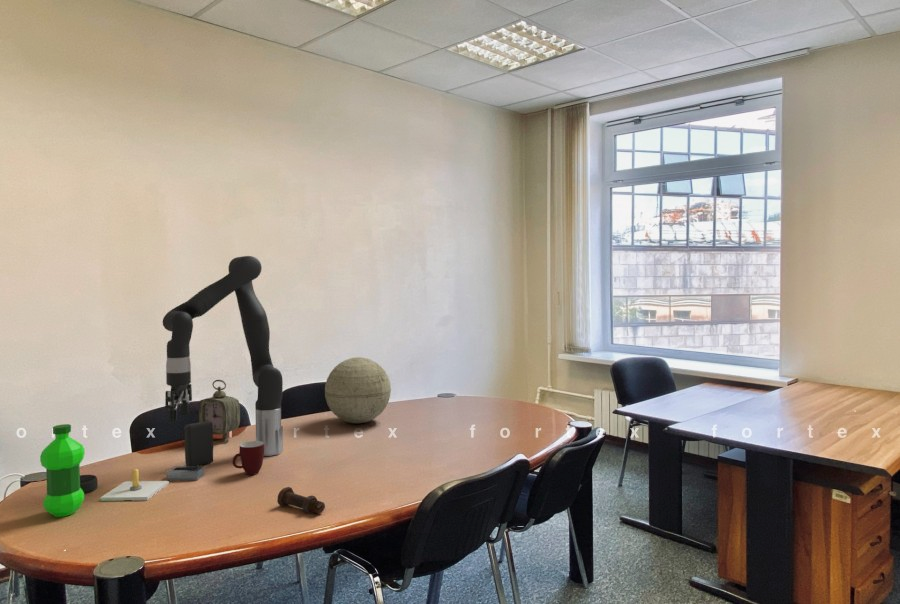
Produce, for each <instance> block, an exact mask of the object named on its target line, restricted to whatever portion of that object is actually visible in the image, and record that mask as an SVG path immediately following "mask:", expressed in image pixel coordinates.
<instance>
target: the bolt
mask: <svg viewBox="0 0 900 604" xmlns="http://www.w3.org/2000/svg"><path fill="white" fill-rule="evenodd" d="M277 504H278V505H279V506H280V507H282V508H284V507H287V506H289V505H290V506H293V507H294V506H295V507H296V508H297V507H298V508H299V509H302V510H303V512H304V513H306V514H311V513H314V514H315V513H316V514H322V513H323V512H324V510H325V509H326V504H325V502H323V501H321V500H318V498H317V497H316V496H315V495H309V496H304V495H300V494H297V493H295V492H294V490H293V488H292V487H290V486H288V487H287V486H286V487H283V488H282V489H280V491H279V492H278V494H277Z"/></svg>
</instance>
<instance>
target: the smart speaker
mask: <svg viewBox="0 0 900 604" xmlns="http://www.w3.org/2000/svg"><path fill="white" fill-rule="evenodd" d="M98 481H99V480H98V477H97V476H96V475H93V474H80V488H81V489H82V490H83V492H84V495H85V494H88V493H91V492H93V491H95V490H96V489H97V488H98V485H99V484H98V483H99V482H98Z"/></svg>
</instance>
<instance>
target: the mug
mask: <svg viewBox="0 0 900 604" xmlns="http://www.w3.org/2000/svg"><path fill="white" fill-rule="evenodd" d="M238 451H239V453H236V454H235V455H234V456H233V458H232V460H231V461H232V465H233V467H234V468H236V469H243V471H244V473H246V475H248V476H254V475H257V474H259V472H260V471H261V469H262V467H263V463H264V458H265V456H264V442H262V441H256V440H250V441H245V442H242V443H240V444H239V450H238ZM238 458H240V461H241V465H237V459H238Z"/></svg>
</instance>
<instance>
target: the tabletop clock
mask: <svg viewBox="0 0 900 604" xmlns="http://www.w3.org/2000/svg"><path fill="white" fill-rule="evenodd" d="M216 382H220V383H223V385H224V387H221V386H218V387H216V386H215V383H216ZM226 387H227V383H226V382H225V381H224V380H222V379H215V380H214V381H213V382H212V388H213V389H214V390H216V391H215V392H214V393H213V394H212V396H210V397H207V398H203V399H200V400H199V403H198V404H199V405H198V422H204V421H211V422H212V423H213V435H222V439H223V438H225V439H223V441H224V443H225V444H226V442H227V443H229V439H228V433H230V432H233V431H235V430H237V429H238V428H239V426H240V423H241V407H240V406H241V405H240V401H239V399H238V398H235V397H234V396H229V395H227V393H226V391H224V390H225V389H226Z"/></svg>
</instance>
